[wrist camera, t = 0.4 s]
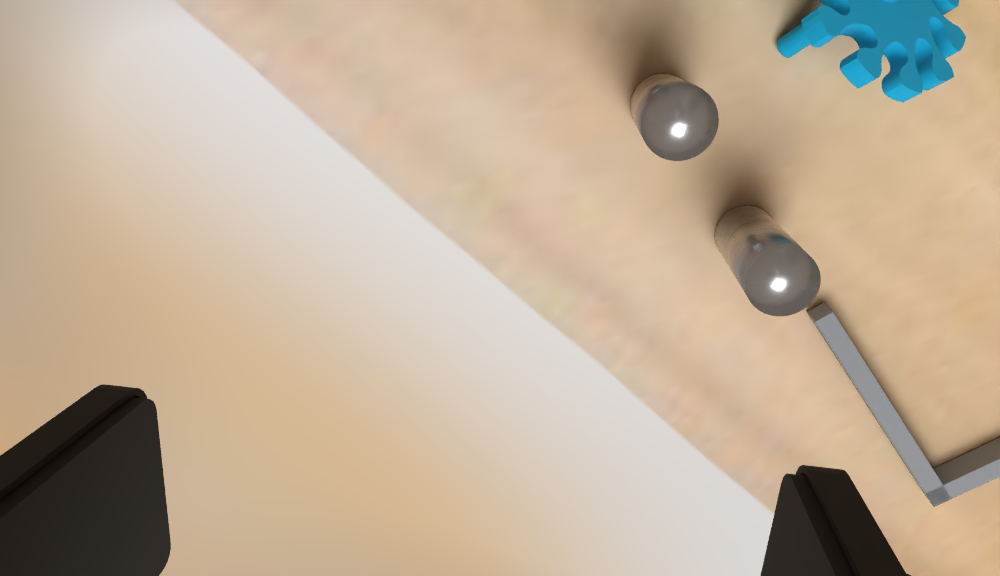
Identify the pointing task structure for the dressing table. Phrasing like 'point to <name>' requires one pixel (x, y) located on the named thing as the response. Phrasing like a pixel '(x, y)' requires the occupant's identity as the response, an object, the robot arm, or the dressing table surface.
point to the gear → (885, 41)
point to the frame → (934, 483)
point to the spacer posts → (743, 230)
